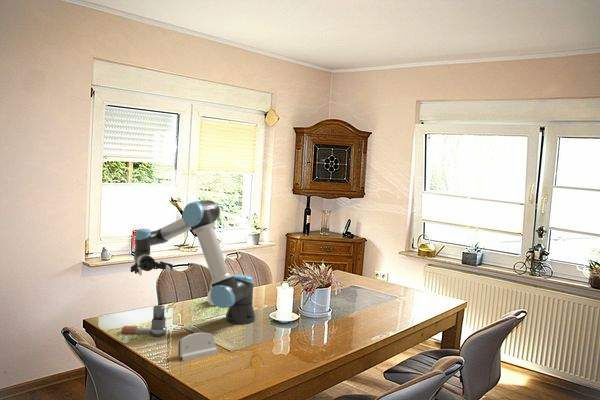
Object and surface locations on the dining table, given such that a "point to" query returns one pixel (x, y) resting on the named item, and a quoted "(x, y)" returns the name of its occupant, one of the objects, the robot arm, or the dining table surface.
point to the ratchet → (143, 331)
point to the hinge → (196, 346)
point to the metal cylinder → (158, 317)
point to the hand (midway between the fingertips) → (155, 271)
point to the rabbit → (210, 297)
